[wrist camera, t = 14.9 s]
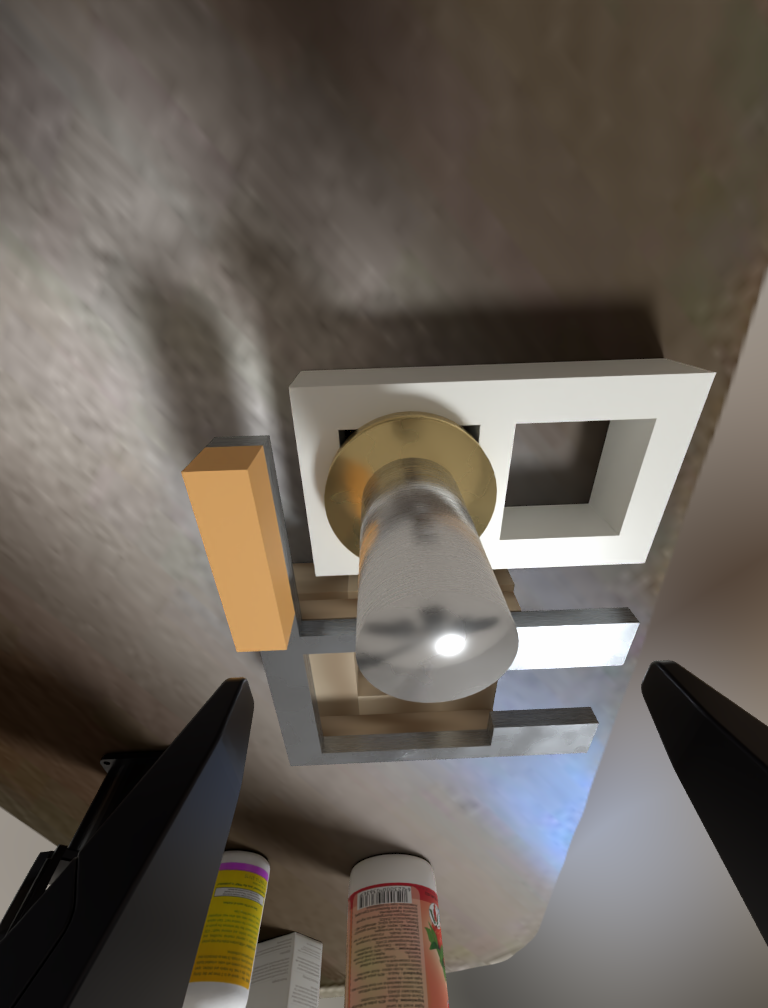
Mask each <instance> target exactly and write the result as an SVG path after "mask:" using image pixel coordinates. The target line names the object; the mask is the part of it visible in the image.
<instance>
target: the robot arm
mask: <svg viewBox="0 0 768 1008" xmlns="http://www.w3.org/2000/svg"><path fill="white" fill-rule="evenodd" d="M641 690H642V694H643V697H644V699H645V702H646V704H647V706H648V709H649V711H650V714H651V716H652V719H653V721H654V723H655V726H656V728H657V730H658V733H659V735H660V738H661V740H662V742H663V745H664V747H665V750H666V752H667V754H668V756H669V759H670V761H671V763H672V765H673V768H674V770H675V772H676V773H677V776H678V777H679V779H680V781H681V783H682V785H683V787H684V789H685V791H686V793H687V794H688V797H689V798H690V800H691V802H692V804H693V806H694V808H695V810H696V812H697V814H698V815H699V817H700V819H701V821H702V823H703V825H704V827H705V829H706V831H707V832H708V834H709V836H710V838H711V840H712V842H713V844H714V846H715V847H716V849H717V851H718V853H719V855H720V857H721V859H722V861H723V863H724V864H725V867H726V868H727V870H728V872H729V874H730V876H731V878H732V880H733V882H734V884H735V885H736V887H737V889H738V891H739V893H740V895H741V897H742V898H743V901H744V902H745V904H746V906H747V908H748V910H749V912H750V914H751V916H752V918H753V919H754V921H755V923H756V925H757V927H758V929H759V931H760V933H761V935H762V936H763V938H764V940H765V942H766V944H767V946H768V726H767V725H765V724H764V723H762V722H761V721H759V720H758V719H757V718H755V717H754V716H752V715H751V714H749V713H748V712H746V711H745V710H744V709H742V708H741V707H739V706H738V705H737V704H735V703H734V702H732V701H731V700H729V699H728V698H727V697H725V696H723V695H722V694H721V693H719V692H718V691H716V690H715V689H713V688H712V687H711V686H709V685H708V684H706V683H705V682H704V681H702V680H701V679H699V678H698V677H696V676H695V675H694V674H692V673H691V672H689V671H688V670H686V669H685V668H684V667H682V666H681V665H679V664H677V663H676V662H674V661H669V660H666V661H654V662H652V663H651V665H650V666H649V668H648V671H647V673H646V675H645V677H644V679H643V681H642V684H641ZM253 711H254V700H253V697H252V693H251V690H250V687H249V684H248V681H247V679H246V678H244V677H240V678H228V679H227V680H225V681H224V682H223V683H222V684H221V686H220V687H219V688H218V689H217V690H216V691H215V693H214V694H213V695H212V696H211V697H210V698H209V700H208V701H207V702H206V703H205V704H204V706H203V707H202V708H201V709H200V710H199V711H198V713H197V714H196V715H195V716H194V717H193V718H192V720H191V721H190V722H189V723H188V724H187V726H186V727H185V728H184V729H183V730H182V731H181V733H180V734H179V735H178V736H177V737H176V738H175V740H174V741H173V742H172V743H171V744H170V746H169V747H168V748H167V749H166V750H165V751H164V752H146V753H124V754H106V755H104V756H103V757H102V759H101V761H100V764H101V765H102V766H103V768H104V769H105V771H106V772H107V775H106V777H105V779H104V781H103V783H102V784H101V786H100V788H99V790H98V792H97V794H96V796H95V798H94V799H93V801H92V803H91V805H90V807H89V809H88V811H87V813H86V815H85V816H84V818H83V820H82V822H81V824H80V826H79V828H78V830H77V832H76V833H75V835H74V837H73V839H72V841H71V843H70V845H69V847H68V848H67V846H65V845H60V844H59V845H58V847H57V848H56V850H55V851H49V852H41V853H40V854H39V855H38V857H37V859H36V860H35V862H34V864H33V866H32V867H31V869H30V871H29V873H28V874H27V876H26V878H25V879H24V881H23V883H22V885H21V886H20V888H19V890H18V892H17V894H16V895H15V897H14V899H13V901H12V903H11V904H10V906H9V908H8V910H7V911H6V913H5V915H4V917H3V919H2V921H1V922H0V1008H182V1007H183V1003H184V1000H185V996H186V992H187V988H188V985H189V981H190V977H191V973H192V970H193V966H194V962H195V958H196V955H197V951H198V947H199V943H200V940H201V936H202V932H203V928H204V924H205V921H206V917H207V913H208V909H209V906H210V902H211V898H212V894H213V891H214V887H215V883H216V879H217V876H218V872H219V868H220V864H221V861H222V857H223V853H224V849H225V846H226V842H227V838H228V834H229V831H230V827H231V823H232V819H233V816H234V812H235V808H236V804H237V801H238V797H239V792H240V788H241V783H242V778H243V772H244V766H245V760H246V754H247V748H248V742H249V736H250V729H251V723H252V717H253ZM48 884H50V886H49V888H48V889H47V890H46V888H47V885H48Z"/></svg>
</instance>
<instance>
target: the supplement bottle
mask: <svg viewBox="0 0 768 1008" xmlns="http://www.w3.org/2000/svg"><path fill="white" fill-rule="evenodd" d="M269 873H270V866H269V863H268V861H267V860H266V859H265V858H264V857H262V856H261V855H259V854H256V853H253V852H247V851H238V850H233V851H224V853H223V857H222V861H221V864H220V868H219V872H218V876H217V879H216V883H215V887H214V891H213V894H212V898H211V902H210V906H209V909H208V913H207V917H206V921H205V924H204V928H203V932H202V936H201V940H200V943H199V947H198V951H197V955H196V958H195V962H194V966H193V970H192V973H191V977H190V981H189V985H188V988H187V992H186V996H185V1000H184V1003H183V1007H182V1008H245V1007H246V1004H247V1000H248V995H249V989H250V983H251V977H252V971H253V965H254V959H255V953H256V947H257V942H258V936H259V930H260V925H261V919H262V913H263V907H264V902H265V896H266V890H267V884H268V879H269Z"/></svg>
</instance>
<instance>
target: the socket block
mask: <svg viewBox="0 0 768 1008" xmlns="http://www.w3.org/2000/svg"><path fill="white" fill-rule="evenodd" d="M293 570H294V575H295V581H296V587H297V592H298V598H299V603H300V609H301V614H302V620H303V621H310V620H334V619H357V601H358V577H359V575H336V576H316V574H315V567H314V563H293ZM493 572H494V574H495V577H496V579H497V581H498V584H499V586H500V589H501V591H502V593H503V596H504V598H505V601H506V603H507V606H508V608H509V610H510V612H521V608H520V606H519V604H518V602H517V599H516V597H515V595H514V593H513V591H514V582H513V580H512V578H511V576H510V574H509V572H508V570H507V569H493ZM309 659H310V664H311V670H312V676H313V681H314V687H315V692H316V698H317V703H318V709H319V714H320V720H321V726H322V731H323V736H346V735H368V734H391V733H413V732H435V731H458V730H480V729H487V724H488V718H489V712H490V711H493V704H494V698H495V692H496V687H497V681H498V680H497V681H496V682H494V683H493V684H491V685H490V686H489V687H487V688H485V689H483V690H481V691H479V692H477V693H475V694H473V695H470V696H467V697H464V698H460V699H456V700H452V701H446V702H436V703H422V702H413V701H407V700H403V699H399V698H396V697H393V696H390V695H388V694H386V693H384V692H382V691H380V690H379V689H377V688H376V687H374V686H373V685H372V684H371V683H370V682H368V681H367V679H366V678H365V677H364V676H363V674H362V673H361V671H360V669H359V667H358V664H357V661H356V652H348V653H324V654H309Z"/></svg>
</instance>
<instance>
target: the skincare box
mask: <svg viewBox="0 0 768 1008" xmlns="http://www.w3.org/2000/svg"><path fill="white" fill-rule="evenodd" d="M321 959H322V942H319V941H316V940H314V939H311V938H309V937H307V936H304V935H302V934H299V933H297V932H293V933H290V934H287V935H284V936H281V937H278V938H274V939H271V940H268V941H265V942H262V943H258V944H257V947H256V953H255V959H254V965H253V971H252V977H251V983H250V989H249V995H248V1000H247V1004H246V1007H245V1008H318V1002H319V1001H318V1000H319V987H320V973H321Z"/></svg>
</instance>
